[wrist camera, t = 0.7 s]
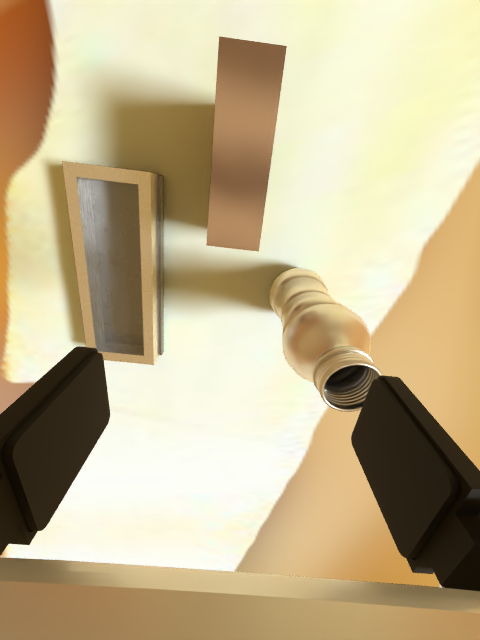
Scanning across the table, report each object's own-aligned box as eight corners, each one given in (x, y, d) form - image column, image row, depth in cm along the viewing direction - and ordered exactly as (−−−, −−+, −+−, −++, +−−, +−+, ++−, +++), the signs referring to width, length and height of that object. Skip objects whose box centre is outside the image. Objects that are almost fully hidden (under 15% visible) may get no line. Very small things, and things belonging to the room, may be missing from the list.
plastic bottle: (318, 312, 36) (398, 430, 17) (266, 313, 36) (291, 430, 17) (323, 263, 33) (425, 339, 15) (268, 264, 33) (299, 340, 15)
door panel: (228, 105, 27) (218, 36, 16) (269, 110, 27) (287, 46, 16) (218, 230, 32) (206, 245, 21) (253, 234, 32) (259, 251, 21)
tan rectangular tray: (79, 165, 29) (58, 160, 26) (163, 175, 29) (153, 172, 26) (98, 344, 38) (85, 358, 34) (163, 351, 38) (156, 365, 35)
